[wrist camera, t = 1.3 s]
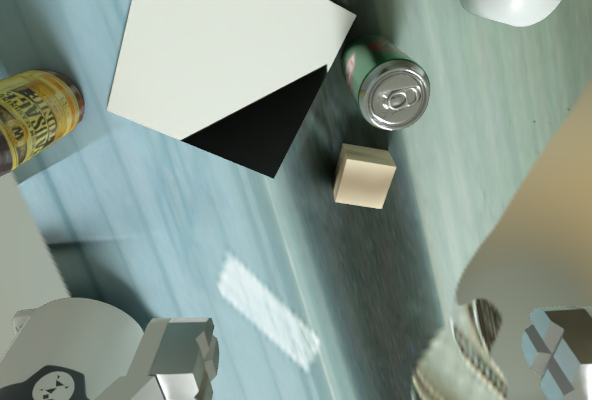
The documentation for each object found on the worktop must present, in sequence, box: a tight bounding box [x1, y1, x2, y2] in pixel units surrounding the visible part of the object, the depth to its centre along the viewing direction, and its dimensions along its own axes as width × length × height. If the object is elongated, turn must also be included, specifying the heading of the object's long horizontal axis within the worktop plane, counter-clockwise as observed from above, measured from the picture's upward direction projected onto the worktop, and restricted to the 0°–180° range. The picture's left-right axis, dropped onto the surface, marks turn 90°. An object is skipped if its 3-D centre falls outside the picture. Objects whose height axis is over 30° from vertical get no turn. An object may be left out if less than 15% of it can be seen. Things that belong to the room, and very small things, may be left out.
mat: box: [107, 0, 357, 179], centre depth 36 cm, size 18×18×1 cm
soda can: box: [341, 34, 430, 130], centre depth 31 cm, size 5×5×12 cm
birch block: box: [332, 143, 396, 209], centre depth 41 cm, size 5×5×4 cm
